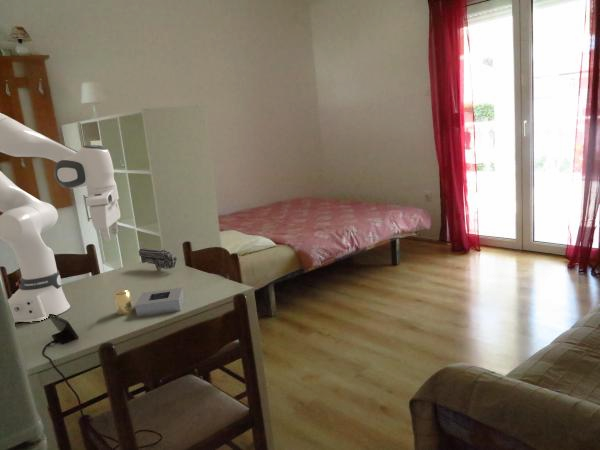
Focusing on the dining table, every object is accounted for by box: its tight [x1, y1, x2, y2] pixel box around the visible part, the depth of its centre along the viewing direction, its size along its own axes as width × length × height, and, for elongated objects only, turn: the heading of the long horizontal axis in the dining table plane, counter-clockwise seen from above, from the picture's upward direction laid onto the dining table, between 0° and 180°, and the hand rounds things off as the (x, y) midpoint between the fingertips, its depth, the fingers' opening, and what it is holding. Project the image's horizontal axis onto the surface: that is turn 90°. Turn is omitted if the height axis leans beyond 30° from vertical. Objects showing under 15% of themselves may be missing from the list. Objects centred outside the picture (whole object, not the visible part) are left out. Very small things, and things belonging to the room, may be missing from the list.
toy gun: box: [138, 247, 178, 271], centre depth 208 cm, size 3×24×10 cm, turn 55°
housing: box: [134, 287, 185, 318], centre depth 162 cm, size 14×12×5 cm
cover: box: [113, 288, 134, 316], centre depth 160 cm, size 5×5×9 cm
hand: (111, 237), depth 155 cm, fingers open, 8 cm apart
